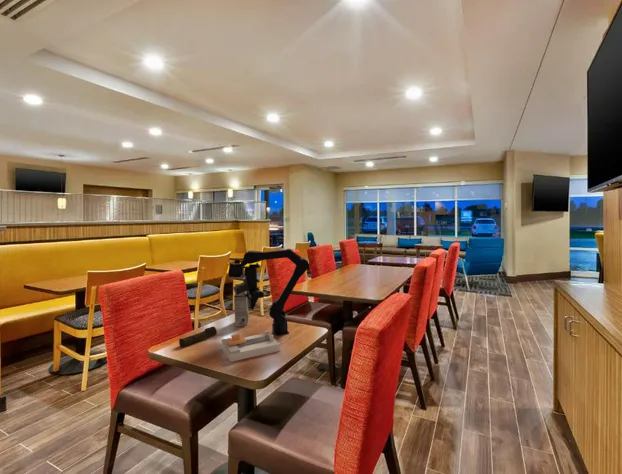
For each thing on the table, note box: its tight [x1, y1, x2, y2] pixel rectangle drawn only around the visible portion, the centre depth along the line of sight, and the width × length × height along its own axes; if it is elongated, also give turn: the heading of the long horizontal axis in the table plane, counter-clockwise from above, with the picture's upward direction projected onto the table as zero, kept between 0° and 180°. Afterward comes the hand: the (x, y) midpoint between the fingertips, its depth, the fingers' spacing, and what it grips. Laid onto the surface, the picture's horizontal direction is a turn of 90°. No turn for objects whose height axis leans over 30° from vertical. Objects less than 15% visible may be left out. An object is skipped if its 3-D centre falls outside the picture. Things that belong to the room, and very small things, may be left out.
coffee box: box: [233, 291, 250, 327], centre depth 176 cm, size 9×6×16 cm
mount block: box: [220, 330, 281, 362], centre depth 141 cm, size 21×15×6 cm
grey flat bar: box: [236, 336, 269, 347], centre depth 141 cm, size 15×4×1 cm, turn 118°
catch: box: [227, 333, 246, 346], centre depth 138 cm, size 7×4×3 cm, turn 118°
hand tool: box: [178, 326, 218, 348], centre depth 152 cm, size 19×4×5 cm, turn 141°
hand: (251, 309), depth 160 cm, fingers closed
